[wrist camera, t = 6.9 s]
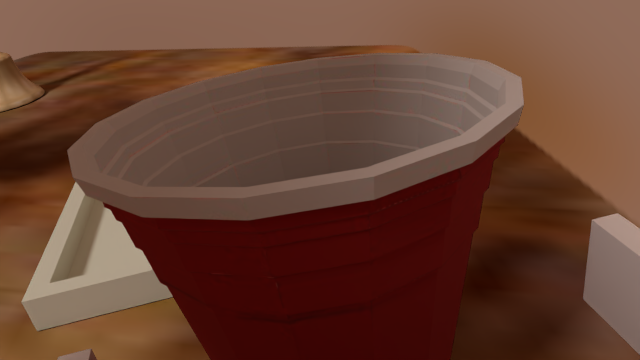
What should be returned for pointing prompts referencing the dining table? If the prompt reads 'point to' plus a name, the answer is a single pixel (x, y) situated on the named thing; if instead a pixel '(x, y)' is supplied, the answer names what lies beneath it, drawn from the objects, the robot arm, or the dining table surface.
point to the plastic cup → (310, 200)
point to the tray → (89, 268)
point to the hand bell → (15, 85)
